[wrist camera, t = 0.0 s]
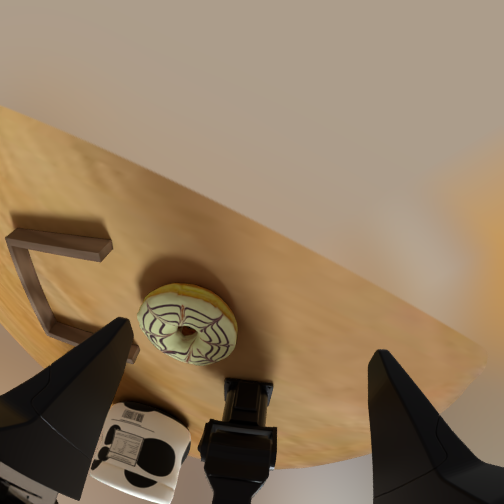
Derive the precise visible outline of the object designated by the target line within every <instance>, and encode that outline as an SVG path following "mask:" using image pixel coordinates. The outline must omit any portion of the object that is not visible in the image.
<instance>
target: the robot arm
mask: <svg viewBox="0 0 504 504" xmlns="http://www.w3.org/2000/svg"><path fill="white" fill-rule="evenodd" d="M133 338H134V334H133V330H132V327H131V324H130V321H129V319H127V318H123V317H117V318H116V319H114V320H113V321H111V322H110V323H109V324H107V325H106V326H104V327H103V328H101V329H100V330H99V331H97V332H96V333H94V334H93V335H91V336H90V337H89V338H87V339H86V340H84V341H83V342H82V343H80V344H79V345H77V346H76V347H74V348H73V349H72V350H70V351H69V352H67V353H66V354H65V355H63V356H62V357H60V358H59V359H58V360H56V361H55V362H53V363H52V364H51V366H50V365H49V366H48V367H46V368H45V369H44V370H42V371H41V372H39V373H38V374H36V375H35V376H34V377H32V378H30V379H29V380H27V381H25V382H24V383H22V384H20V385H19V386H17V387H15V388H13V389H12V390H10V391H8V392H7V393H5V394H3V395H1V396H0V504H58V502H57V499H56V498H57V495H58V493H61V494H63V495H65V496H68V497H70V498H73V499H75V500H78V501H79V500H80V498H81V494H82V491H83V488H84V484H85V481H86V477H87V474H88V470H89V468H90V464H91V461H92V458H93V455H94V452H95V448H96V446H97V443H98V440H99V437H100V434H101V431H102V428H103V425H104V423H105V420H106V417H107V414H108V412H109V409H110V406H111V404H112V401H113V398H114V396H115V393H116V391H117V388H118V386H119V383H120V381H121V378H122V375H123V373H124V369H125V366H126V362H127V359H128V355H129V352H130V348H131V345H132V342H133ZM272 391H273V384H271V383H262V382H253V381H245V380H237V379H230V378H226V379H225V407H224V413H223V418H222V421H218V420H214V419H210V421H209V422H208V423H206V424H205V428H204V432H203V435H202V438H201V440H200V443H199V445H198V451H199V452H200V455H201V461H203V462H205V465H204V471H205V474H206V478H207V480H208V483H209V485H210V487H211V489H212V491H213V493H214V496H213V501H212V504H251V499H252V498H253V497H254V496H255V494H256V493H257V492H258V491H259V490H260V489H261V488H262V486H263V485H264V483H265V482H266V480H267V478H268V476H269V470H272V471H273V470H274V467H275V462H276V454H277V427H265V424H266V413H267V407H268V406H269V402H270V399H271V395H272ZM368 409H369V420H370V431H371V445H372V461H373V462H372V463H373V504H504V467H500V466H495V465H492V464H488V463H485V462H483V461H481V460H480V459H478V458H477V457H476V456H475V455H474V454H473V453H472V452H471V451H470V449H469V448H468V447H467V446H466V445H465V444H464V443H463V442H462V441H461V440H460V439H459V438H458V436H457V435H456V434H455V433H454V432H453V431H452V430H451V428H450V427H449V426H448V425H447V423H446V422H445V421H444V420H443V418H442V417H441V416H440V415H439V413H438V412H437V410H436V409H435V408H434V407H433V405H432V404H431V403H430V401H429V400H428V399H427V398H426V396H425V395H424V394H423V393H422V391H421V390H420V389H419V388H418V386H417V385H416V384H415V383H414V381H413V380H412V379H411V378H410V376H409V375H408V374H407V373H406V371H405V370H404V369H403V368H402V367H401V365H400V364H399V363H398V362H397V360H396V359H395V358H394V357H393V356H392V354H391V353H390V352H389V351H388V350H386V349H378V350H376V352H375V353H374V355H373V357H372V358H371V360H370V362H369V364H368Z"/></svg>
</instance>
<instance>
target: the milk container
mask: <svg viewBox="0 0 504 504" xmlns="http://www.w3.org/2000/svg"><path fill="white" fill-rule="evenodd" d="M190 445H191V435H190V432H189V430H188V428H187V427H186V426H185V425H183V423H182V422H181V421H179V420H177V419H176V418H174V417H173V416H171V415H169V414H167V413H165V412H162V411H160V410H158V409H156V408H153V407H150V406H147V405H144V404H139V403H135V402H118V403H116V404H114V405H113V406H112V407H111V409H110V410H109V412H108V414H107V417H106V420H105V423H104V426H103V436H102V440H101V443H100V446H99V448H98V450H97V453H96V455H95V459H94V461H93V463H92V467H91V471H90V476H91V477H93V478H95V479H96V480H99V481H100V482H102V483H104V484H107V485H109V486H111V487H113V488H115V489H118V490H121V491H123V492H126V493H128V494H131V495H134V496H136V497H139V498H143V499H145V500H149V501H152V502H156V503H159V504H170V503H171V501H172V499H173V496H174V489H175V487H176V484H177V478H178V474H179V470H180V467H181V465H182V463H183V462H184V460H185V459H186V457H187V455H188V453H189V450H190Z"/></svg>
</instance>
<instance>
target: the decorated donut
mask: <svg viewBox="0 0 504 504" xmlns="http://www.w3.org/2000/svg"><path fill="white" fill-rule="evenodd" d="M137 318H138V321H139V323H140V325H139V326H140V328H141V330H142V331H143V332H144V334H145V335H146V336H147V337H148V339H149V340H150V341H151V343H152V344H153V345H154V346H155V347H157V348H158V349H159V350H160V351H162V352H163V353H165V354H167V355H169V356H170V357H172V358H174V359H176V360H179V361H182V362H184V363H190V364H194V365H199V366H205V365H209V364H212V363H215V362H218V361H220V360H222V359H224V358H226V357H228V356H229V355H230V354H231V352H232V351H233V350H234V348H235V345H236V341H237V333H238V328H237V323H236V320H235V317H234V314H233V312H232V311H231V309H230V308H229V306H228V305H227V304H226V303H225V302H224V301H223V300H222V299H221V298H220V297H219V296H217V295H216V294H215V293H214V292H212V291H210V290H207V289H205V288H202V287H199V286H197V285H194V284H185V283H183V284H180V283H172V284H168V285H164V286H161V287H159V288H158V289H156V290H154V291H152V292H150V293H149V294H148V295H147V296H146V297H145V298H144V301H143V304H142V305H141V307H140V309H139V312H138V313H137ZM186 326H190V327H192V328H194V329H190V328H188V327H186Z"/></svg>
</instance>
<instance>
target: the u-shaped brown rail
mask: <svg viewBox="0 0 504 504" xmlns="http://www.w3.org/2000/svg"><path fill="white" fill-rule="evenodd" d="M5 240H6V243H7V246H8V249H9V252H10V255H11V257H12V260H13V263H14V265H15V268H16V271H17V273H18V276H19V278H20V281H21V283H22V285H23V288H24V290H25V292H26V295H27V297H28V299H29V301H30V303H31V306H32V308H33V310H34V312H35V314H36V316H37V318H38V320H39V322H40V324H41V326H42V327H43V329H44V331H45V333H46V335H47V336H49V337H52V338H55V339H57V340H60V341H62V342H65V343H68V344H70V345H73V346H77V345H79V344H80V343H82V342H83V341H84V340H86V339H87V338H89V337H90V336H91V335H93V333H90V332H86V331H83V330H80V329H77V328H74V327H71V326H68V325H65V324H62V323H59V322H56V319H55V317H54V315H53V313H52V311H51V309H50V306H49V304H48V302H47V300H46V297H45V295H44V293H43V290H42V288H41V285H40V283H39V280H38V278H37V275H36V272H35V270H34V267H33V264H32V261H31V258H30V255H29V252H28V249H30V250H35V251H40V252H46V253H51V254H56V255H62V256H67V257H73V258H78V259H84V260H90V261H96V262H102V261H103V259H104V258H105V257H106V256H107V255H108V254H109V253H110V252H111V250H112V249H113V246H112V241H111V240H107V239H99V238H91V237H83V236H75V235H67V234H59V233H51V232H44V231H36V230H28V229H20V228H17V229H15V230H14V231H13V232H12V233H10V234H9V235H8V236H7V237H5ZM139 352H140V349H139V346H137V345H133V344H132V345H131V348H130V352H129V355H128V359H127V363H130V364H134V362H135V360H136V358H137V356H138V354H139Z"/></svg>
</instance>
